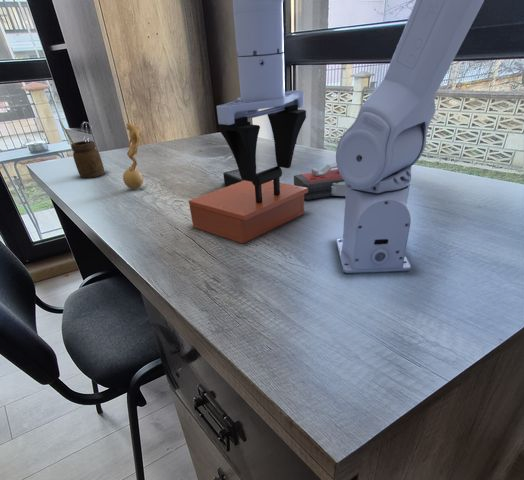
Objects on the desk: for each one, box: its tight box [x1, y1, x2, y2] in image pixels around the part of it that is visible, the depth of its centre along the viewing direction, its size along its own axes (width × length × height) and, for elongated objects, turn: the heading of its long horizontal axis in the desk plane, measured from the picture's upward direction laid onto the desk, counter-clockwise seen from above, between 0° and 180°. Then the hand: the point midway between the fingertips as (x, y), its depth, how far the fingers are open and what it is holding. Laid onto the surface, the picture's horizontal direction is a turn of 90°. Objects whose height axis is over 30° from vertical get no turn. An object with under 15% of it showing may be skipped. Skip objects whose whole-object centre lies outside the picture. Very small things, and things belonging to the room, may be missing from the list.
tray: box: [189, 194, 305, 244], centre depth 62 cm, size 11×14×4 cm
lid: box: [188, 165, 308, 221], centre depth 59 cm, size 12×14×5 cm
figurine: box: [122, 122, 144, 190], centre depth 78 cm, size 8×6×12 cm
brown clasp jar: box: [58, 119, 105, 179], centre depth 89 cm, size 6×6×12 cm
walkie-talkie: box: [293, 162, 346, 201], centre depth 70 cm, size 9×4×20 cm
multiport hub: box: [222, 168, 244, 187], centre depth 76 cm, size 4×11×2 cm, turn 32°
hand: (266, 173), depth 55 cm, fingers open, 7 cm apart
